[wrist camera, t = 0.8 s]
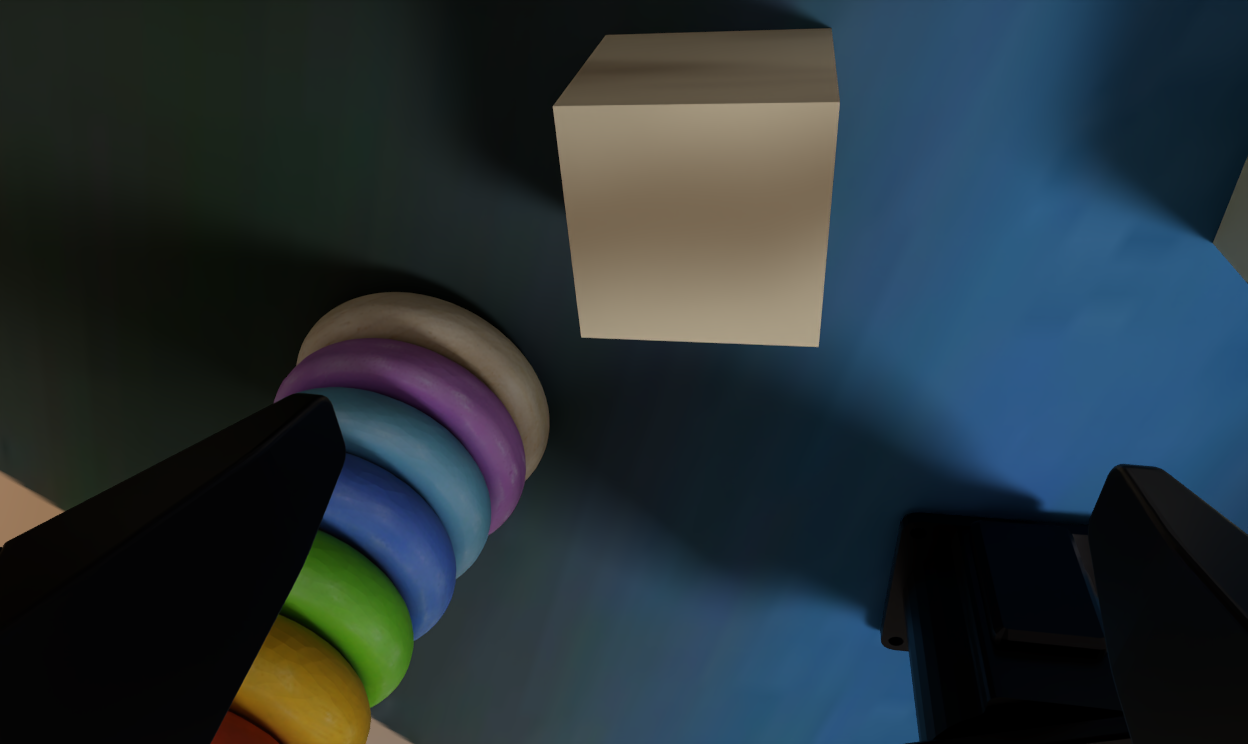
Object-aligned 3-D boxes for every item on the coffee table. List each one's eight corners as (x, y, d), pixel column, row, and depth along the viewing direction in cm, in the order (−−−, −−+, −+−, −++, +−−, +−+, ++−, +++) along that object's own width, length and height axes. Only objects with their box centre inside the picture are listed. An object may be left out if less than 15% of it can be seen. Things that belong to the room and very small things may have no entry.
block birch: (815, 235, 20) (818, 347, 16) (622, 232, 21) (581, 337, 17) (831, 27, 17) (839, 102, 14) (606, 33, 18) (552, 106, 14)
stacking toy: (371, 227, 22) (-451, 1101, 8) (604, 381, 24) (296, 1327, 10) (282, 392, 27) (-343, 1139, 12) (484, 511, 29) (149, 1287, 14)
